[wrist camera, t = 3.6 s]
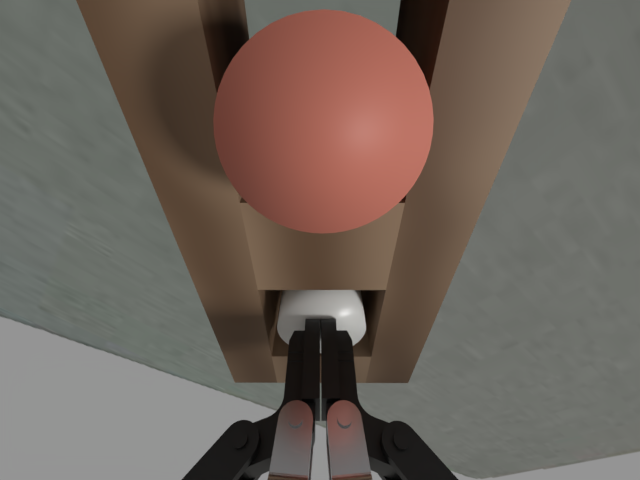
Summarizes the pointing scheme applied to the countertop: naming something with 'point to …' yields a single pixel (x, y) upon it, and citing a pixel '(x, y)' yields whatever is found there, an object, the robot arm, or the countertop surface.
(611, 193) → the countertop surface
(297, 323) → the button
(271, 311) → the brown wooden block
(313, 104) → the red button
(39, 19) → the countertop surface
